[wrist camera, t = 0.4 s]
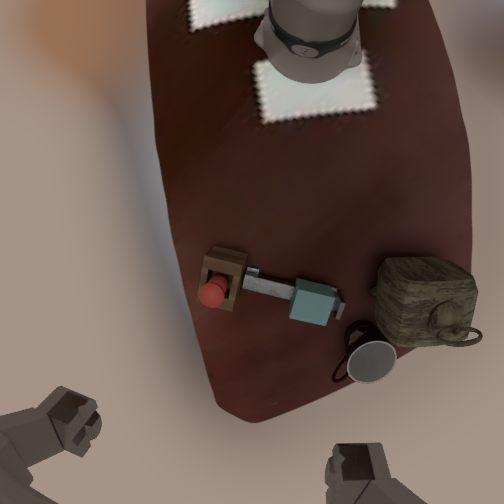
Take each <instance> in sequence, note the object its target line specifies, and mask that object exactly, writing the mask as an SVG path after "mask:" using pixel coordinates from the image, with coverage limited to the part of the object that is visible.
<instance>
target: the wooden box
mask: <svg viewBox="0 0 504 504" xmlns="http://www.w3.org/2000/svg"><path fill="white" fill-rule="evenodd" d="M247 257H248V254H247V253H243V252H239V251H235V250H231V249H227V248H223V247H219V246H214V247H213V248H212V249H211V250H210V251H209V252H208V253H207V254H206V255H205V256H204V261H203V266H202V272H201V277H200V283H199V289H198V295H197V301H196V302H198V303H201V304H203V303H202V302H201V301H200V298H199V291H200V289H201V288H202V286H203V285H204V284H206V283H208V282H209V280H210V279H211V278H212V276H213V275H215V274H218V273H220V274H223V275H225V276H226V277H227V278H228V280H229V286H228V288H227V290H226V292H225V297H224V300H223V302H222V304H221V305H219V306H218V307H216V308H220V309H224V310H227V311H231V312H232V311H233V308H234V306H235V303H236V301H237V299H238V296H239V292H240V288H241V283H242V279H243V274H244V270H245V266H246V261H247Z"/></svg>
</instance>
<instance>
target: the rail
mask: <svg viewBox="0 0 504 504" xmlns="http://www.w3.org/2000/svg"><path fill="white" fill-rule="evenodd" d="M259 269H260V268H257V267H253V266H249V265H248V268H247V272H246V274H245V278H244V283H243V287H242V288H244V289H248V290H252V291H256V292H260V293H264V294H268V295H272V296H277V297H281V298H285V299H289V300H292V297H293V294H294V290H295V287H296V283H293V282H288V281H284V280H280V279H276V278H272V277H268V276H264V275H260V274H258V273H259ZM326 285H327V284H326ZM327 286H330V287H331V289H332V290H333V293H334V296H335V300H334V303H333V306H332V310H333V313H334V317H335V319H338V320H340V318H341V315H342V312H343V309H344V307H345V304H346V303H345V301H344V299H343V296H342V294H341V292H340V290H337V287H336V286H332V285H327Z"/></svg>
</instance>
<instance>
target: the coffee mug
mask: <svg viewBox="0 0 504 504" xmlns="http://www.w3.org/2000/svg"><path fill="white" fill-rule="evenodd" d="M345 348H346V355H345V357H344V358H343V359H342V361H341V362H340V363H339V365H338V366H337V368H336V369H335V371H334V373H333V375H332V381H333V382H334V383H339V382H341V381H343V380H345V379H346V377H347V376H348V375H349V376H350V377H351V378H352V379H353V380H354V381H356V382H359V383H366V384H368V383H374V382H377V381H379V380H381V379H383V378H384V377H386V376H387V375H388V374H389V373H390V372H391V371H392V369H393V368H394V366H395V363H396V359H397V355H396V351H395V349H394V348H393V346H392V345H391V344H390V343H389V342H388V340H387V339H386V338H385V337H384V336H383V335H382V333H381V332H380V331H379V330H378V329H377V327H376V326H375V325H374V324H373V323H372V322H370V321H368V320H358V321H355V322H353V323H352V324H351V325H350V326H349V327H348V328H347V330H346V332H345ZM345 360H346V361H347V372H346V374H345V375H344V376H343V377H342V378H340V379H337V380H336V379H335V375H336V373H337V371H338V370H339V368H340V367H341V366H342V364H343V363H344V362H345Z"/></svg>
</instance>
